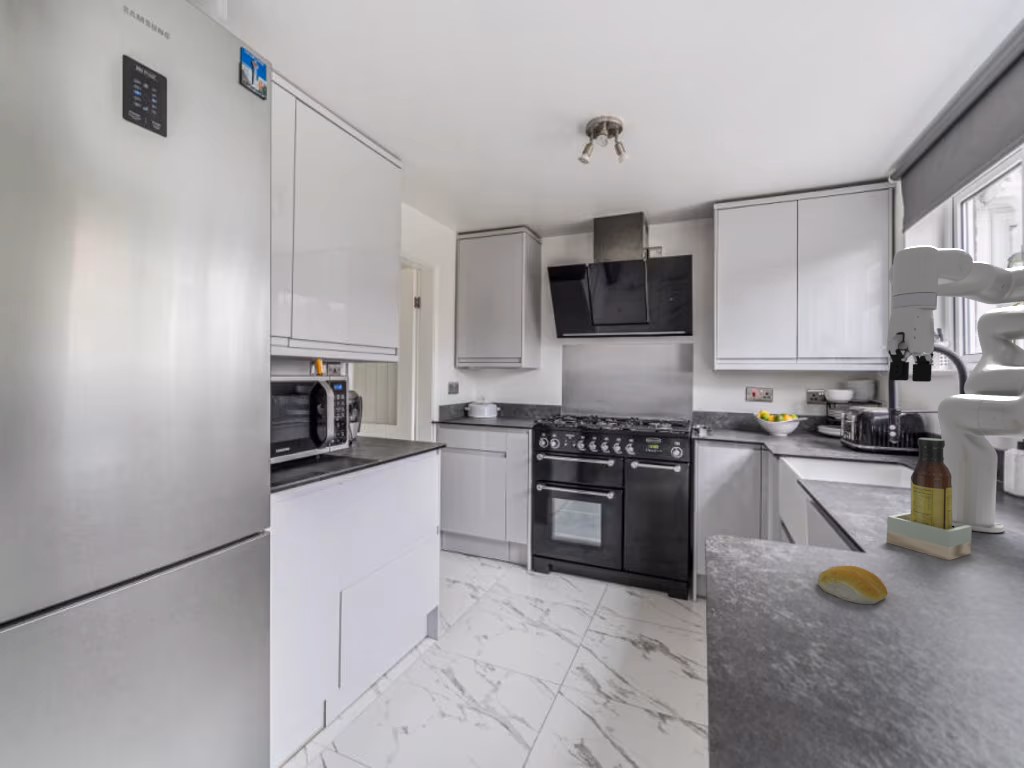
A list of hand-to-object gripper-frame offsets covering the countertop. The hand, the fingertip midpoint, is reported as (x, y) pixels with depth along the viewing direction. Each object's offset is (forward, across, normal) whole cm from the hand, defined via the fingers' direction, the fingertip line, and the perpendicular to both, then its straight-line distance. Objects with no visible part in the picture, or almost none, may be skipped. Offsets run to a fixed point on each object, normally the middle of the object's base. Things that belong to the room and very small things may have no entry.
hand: (910, 380), depth 99 cm
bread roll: (+35, +44, +12) cm, 57 cm away
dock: (+34, +6, +6) cm, 35 cm away
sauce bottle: (+32, +5, +6) cm, 33 cm away
